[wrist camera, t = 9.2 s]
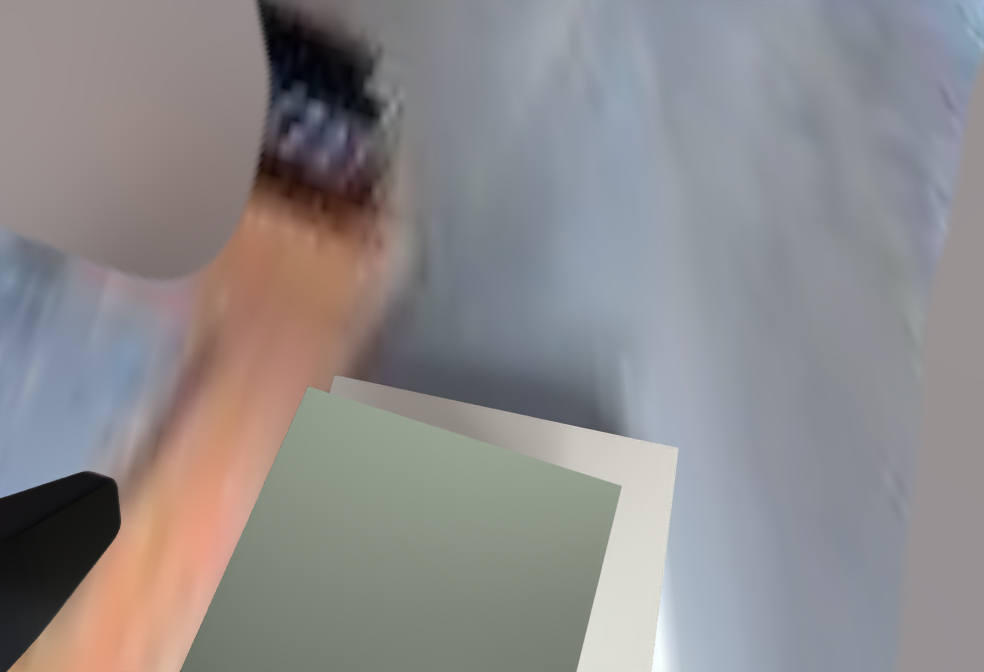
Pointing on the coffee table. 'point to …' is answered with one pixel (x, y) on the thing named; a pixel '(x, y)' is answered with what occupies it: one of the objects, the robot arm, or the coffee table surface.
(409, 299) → the coffee table surface
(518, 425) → the tower top slab
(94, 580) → the coffee table surface
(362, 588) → the sage block
